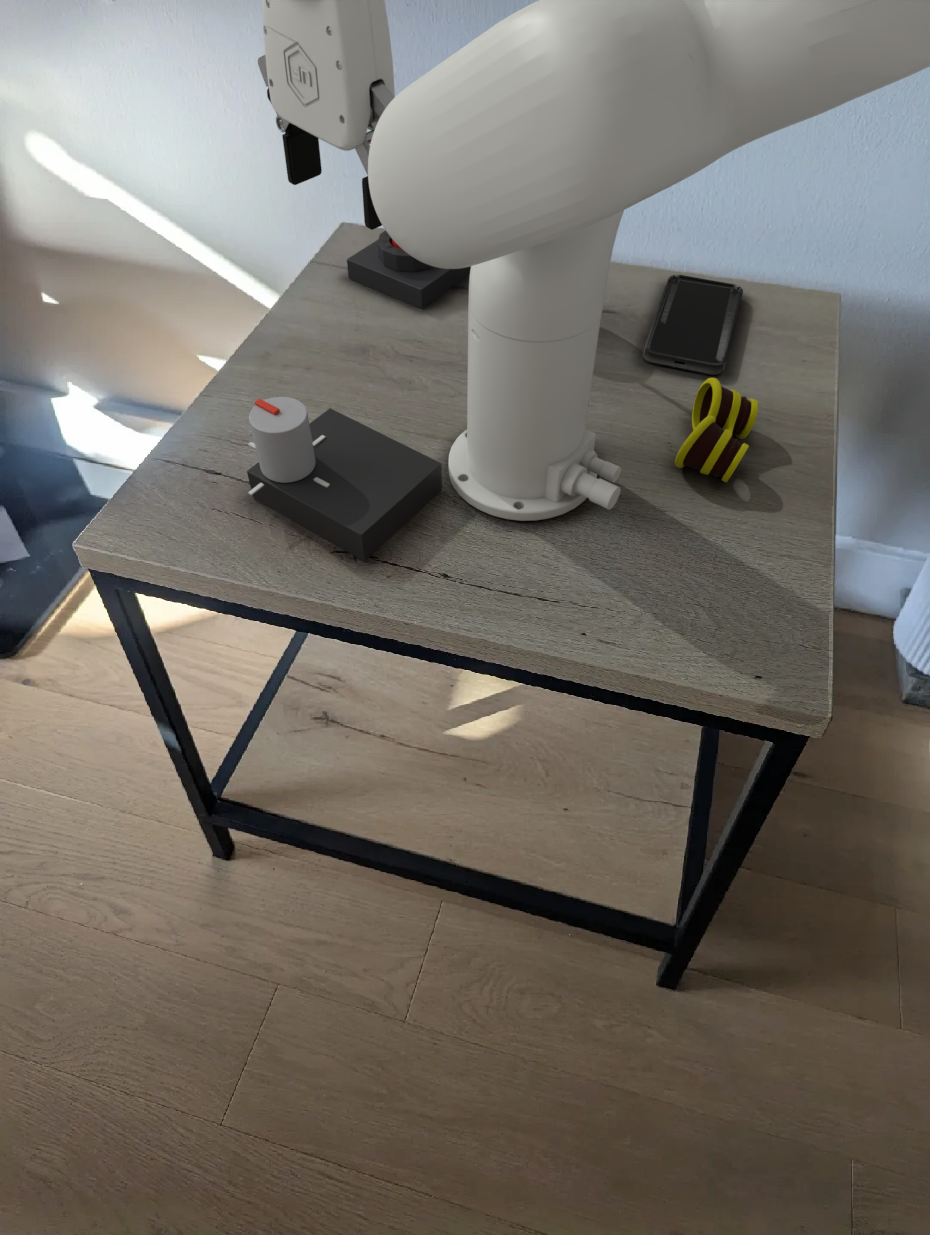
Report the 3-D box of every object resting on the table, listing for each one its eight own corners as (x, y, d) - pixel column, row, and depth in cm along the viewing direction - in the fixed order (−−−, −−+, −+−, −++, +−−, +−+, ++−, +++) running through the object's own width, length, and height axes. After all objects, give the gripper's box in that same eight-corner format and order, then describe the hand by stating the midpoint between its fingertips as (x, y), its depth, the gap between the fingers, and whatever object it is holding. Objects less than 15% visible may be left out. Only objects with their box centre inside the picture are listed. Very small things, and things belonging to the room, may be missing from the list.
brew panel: (442, 490, 72) (441, 461, 70) (349, 576, 66) (345, 547, 64) (316, 426, 77) (311, 397, 75) (219, 500, 71) (210, 471, 69)
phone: (744, 286, 90) (724, 367, 81) (741, 296, 91) (721, 377, 82) (669, 272, 92) (641, 350, 83) (667, 282, 92) (639, 361, 83)
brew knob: (327, 461, 70) (318, 407, 66) (288, 490, 68) (278, 437, 63) (287, 439, 71) (276, 385, 67) (248, 468, 69) (235, 414, 65)
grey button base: (473, 272, 94) (473, 236, 91) (422, 309, 89) (420, 273, 86) (400, 244, 97) (398, 209, 94) (348, 278, 93) (344, 242, 90)
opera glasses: (724, 499, 73) (751, 457, 69) (666, 475, 73) (689, 432, 69) (742, 430, 79) (768, 387, 75) (688, 408, 79) (711, 364, 75)
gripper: (200, -71, 60) (242, 177, 74) (364, -2, 53) (378, 258, 67) (285, -91, 64) (311, 150, 77) (451, -29, 57) (447, 224, 70)
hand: (342, 200), depth 72 cm, fingers open, 9 cm apart
